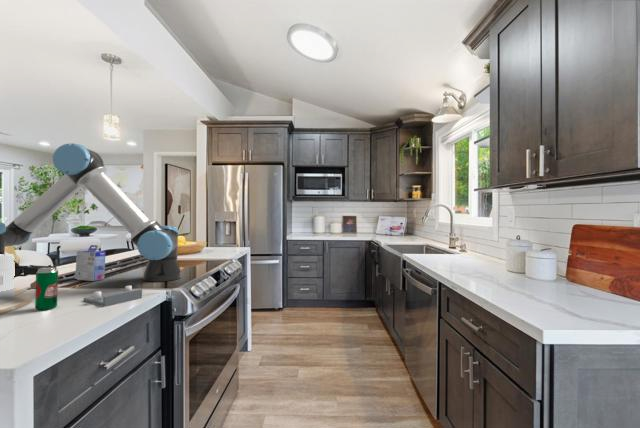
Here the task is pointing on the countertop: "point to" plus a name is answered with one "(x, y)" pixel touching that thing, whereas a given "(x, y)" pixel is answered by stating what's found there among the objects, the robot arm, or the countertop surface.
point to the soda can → (46, 288)
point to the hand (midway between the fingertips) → (30, 276)
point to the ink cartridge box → (90, 264)
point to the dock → (114, 297)
